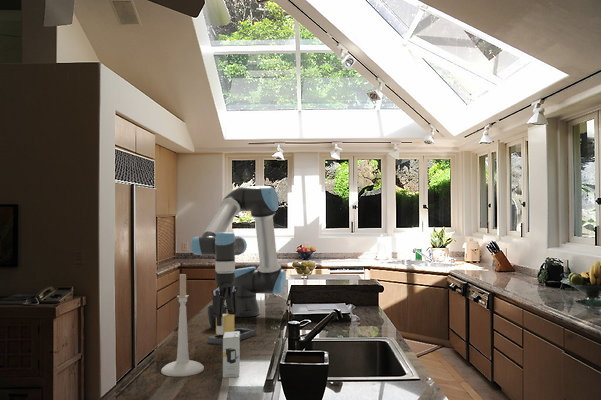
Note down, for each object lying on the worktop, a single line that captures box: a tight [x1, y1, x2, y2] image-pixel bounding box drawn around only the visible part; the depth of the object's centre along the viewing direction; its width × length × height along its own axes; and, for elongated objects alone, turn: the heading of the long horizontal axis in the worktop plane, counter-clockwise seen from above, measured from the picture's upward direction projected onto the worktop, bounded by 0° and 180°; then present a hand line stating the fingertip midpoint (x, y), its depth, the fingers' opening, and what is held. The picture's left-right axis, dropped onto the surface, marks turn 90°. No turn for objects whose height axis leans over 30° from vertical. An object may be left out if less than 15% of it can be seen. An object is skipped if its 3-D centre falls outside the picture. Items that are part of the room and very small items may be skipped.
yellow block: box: [215, 313, 235, 335], centre depth 197 cm, size 5×5×7 cm
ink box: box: [222, 331, 241, 378], centre depth 155 cm, size 9×5×12 cm, turn 5°
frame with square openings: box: [207, 327, 257, 346], centre depth 201 cm, size 20×8×2 cm, turn 150°
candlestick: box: [160, 273, 205, 377], centre depth 159 cm, size 13×13×30 cm
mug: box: [207, 304, 228, 330], centre depth 222 cm, size 8×12×10 cm
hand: (225, 332), depth 197 cm, fingers closed on yellow block, 5 cm apart
